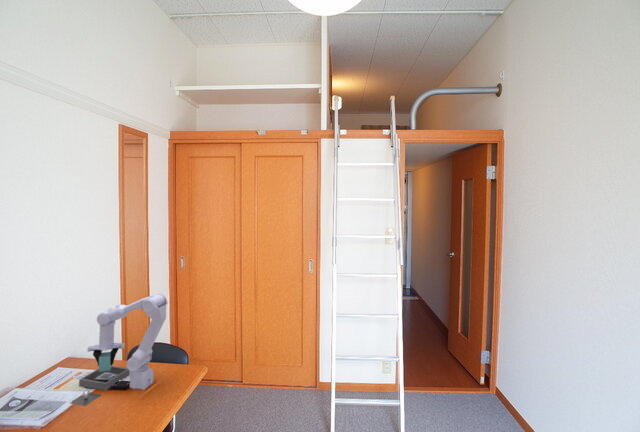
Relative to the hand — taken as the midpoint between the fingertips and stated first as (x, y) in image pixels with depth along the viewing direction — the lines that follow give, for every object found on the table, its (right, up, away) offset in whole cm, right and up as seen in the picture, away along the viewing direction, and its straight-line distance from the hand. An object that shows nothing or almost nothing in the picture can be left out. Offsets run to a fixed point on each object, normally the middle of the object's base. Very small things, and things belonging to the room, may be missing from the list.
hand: (105, 364), depth 149 cm
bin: (0, -8, 0) cm, 8 cm away
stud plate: (+1, -9, -14) cm, 17 cm away
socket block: (0, -2, 0) cm, 2 cm away
